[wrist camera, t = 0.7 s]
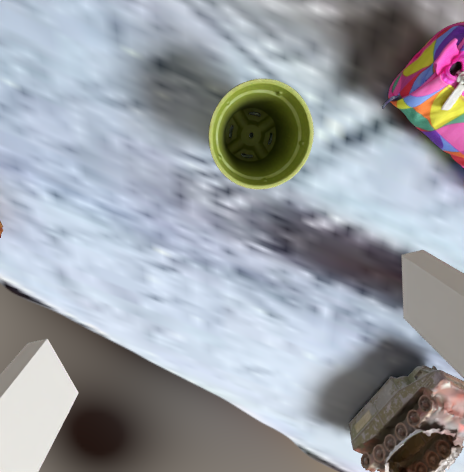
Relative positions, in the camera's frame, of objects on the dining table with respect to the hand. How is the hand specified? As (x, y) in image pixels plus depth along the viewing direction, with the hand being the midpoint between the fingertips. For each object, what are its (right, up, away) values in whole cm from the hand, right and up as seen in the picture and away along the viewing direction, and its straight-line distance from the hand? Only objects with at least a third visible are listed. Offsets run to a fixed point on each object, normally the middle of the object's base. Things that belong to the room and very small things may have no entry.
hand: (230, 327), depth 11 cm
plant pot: (+2, +15, +24) cm, 28 cm away
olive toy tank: (+26, -22, +38) cm, 51 cm away
